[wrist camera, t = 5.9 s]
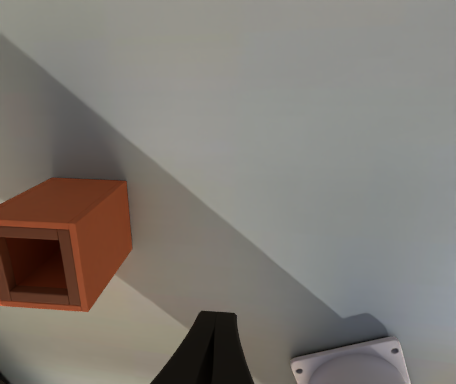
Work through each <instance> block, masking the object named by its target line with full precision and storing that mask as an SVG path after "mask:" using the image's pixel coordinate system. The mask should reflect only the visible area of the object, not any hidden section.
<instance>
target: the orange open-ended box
mask: <svg viewBox="0 0 456 384" xmlns="http://www.w3.org/2000/svg"><path fill="white" fill-rule="evenodd" d="M131 250H132V240H131V228H130V217H129V205H128V194H127V182H126V181H118V180H95V179H73V178H50V179H48V180H46V181H45V182H43V183H41V184H39V185H37V186H35V187H33V188H31V189H29V190H27V191H25V192H23V193H21V194H19V195H17V196H15V197H13V198H11V199H9V200H7V201H5V202H3V203H1V204H0V306H11V307H25V308H39V309H54V310H68V311H83V312H89V310H90V309H91V307H92V306H93V304H94V303H95V302H96V300H97V299H98V297H99V296H100V294H101V293H102V292H103V290H104V289H105V287H106V286H107V284H108V283H109V281H110V280H111V279H112V277H113V276H114V274H115V273H116V271H117V270H118V269H119V267H120V266H121V264H122V263H123V261H124V260H125V259H126V257H127V256H128V254H129V253H130V251H131Z"/></svg>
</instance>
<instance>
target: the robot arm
mask: <svg viewBox="0 0 456 384" xmlns="http://www.w3.org/2000/svg"><path fill="white" fill-rule="evenodd" d="M393 348H395V349H393ZM290 364H291V369H292V371H293V374H294V376H295V379H296V381H297V384H411V383H410V379H409V375H408V371H407V367H406V364H405V360H404V356H403V352H402V348H401V344H400V342H399V340H398V338H396V337H393V336H392V337H386V338H381V339H377V340H372V341H368V342H363V343H359V344H354V345H350V346H345V347H340V348H336V349H331V350H327V351H322V352H318V353H313V354H309V355H304V356H300V357H295V358H293V359H291V361H290ZM150 384H254V382H253V379H252V377H251V374H250V371H249V369H248V366H247V363H246V360H245V356H244V353H243V350H242V346H241V342H240V338H239V333H238V328H237V315H236V314H235V313H228V312H213V311H201V312H200V313H199V314H198V316H197V318H196V320H195V322H194V324H193V326H192V327H191V329H190V331H189V332H188V334H187V335H186V337H185V339H184V340H183V341H182V343H181V344H180V346H179V347H178V349H177V350H176V352H175V353H174V354H173V356H172V357H171V358H170V360H169V361H168V362H167V364H166V365H165V366H164V367H163V369H162V370H161V371H160V373H159V374H158V375H157V376H156V377H155V378H154V380H153V381H152V382H151V383H150Z"/></svg>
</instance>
